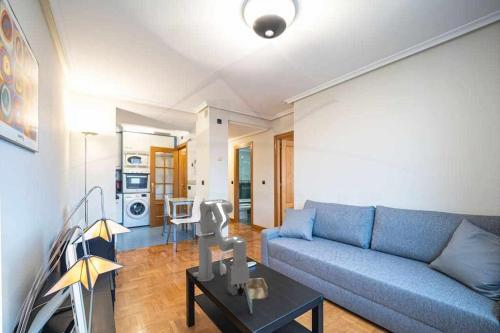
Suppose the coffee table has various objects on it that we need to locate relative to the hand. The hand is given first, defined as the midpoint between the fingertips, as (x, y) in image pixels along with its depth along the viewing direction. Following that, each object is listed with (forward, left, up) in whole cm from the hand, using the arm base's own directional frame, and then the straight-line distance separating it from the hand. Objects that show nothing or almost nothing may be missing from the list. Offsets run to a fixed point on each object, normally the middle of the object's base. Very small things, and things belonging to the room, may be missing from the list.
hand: (240, 294), depth 122 cm
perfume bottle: (-1, +21, -10) cm, 24 cm away
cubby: (+12, +16, -10) cm, 22 cm away
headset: (-1, +48, -10) cm, 49 cm away
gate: (+6, +3, -9) cm, 11 cm away
